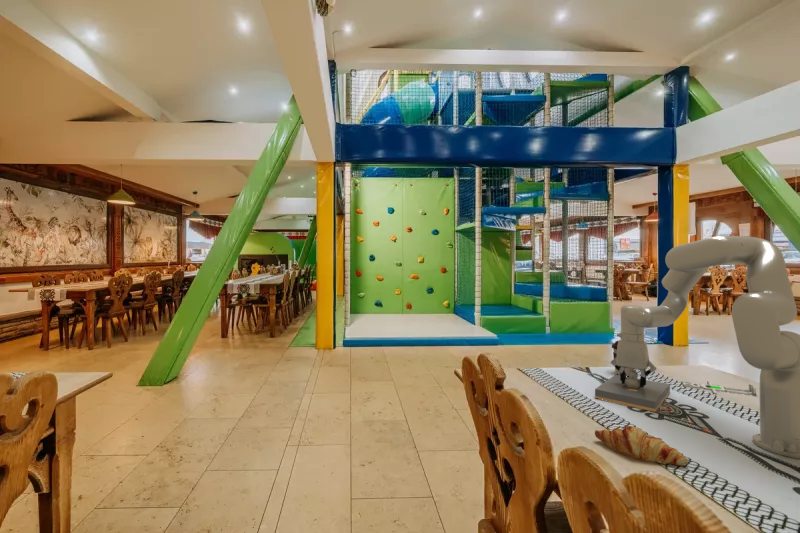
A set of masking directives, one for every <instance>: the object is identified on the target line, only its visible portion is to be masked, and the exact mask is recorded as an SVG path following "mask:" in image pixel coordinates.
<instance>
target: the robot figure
mask: <svg viewBox="0 0 800 533" xmlns="http://www.w3.org/2000/svg"><path fill="white" fill-rule="evenodd" d="M681 384H682V387H683V388H691V389H698V390H701V389H703V390H706V391H711V393H712V395H714V394H715V396H716V395H718V392H720V391H721V393H727V392H729V393H728V394H735V393H737V394H736V395H742V394H744V395H743V396H750V395H752V396H751V397H757V388H756V387H754V385H753V384H748V389H743V388H735V387H728V386H721V385H713V384H712V382H711V381H707V382H706V384H704V383H701V384H699V383H697V382H696V383H695V382H691V381H690V382H689V381H681ZM726 389H727V390H726ZM742 391H743V392H742ZM749 392H751V393H749Z"/></svg>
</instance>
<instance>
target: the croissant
mask: <svg viewBox="0 0 800 533" xmlns="http://www.w3.org/2000/svg"><path fill="white" fill-rule="evenodd" d="M594 436H595V438H597V440H599V441H601V442H602V443H604V445H606V447H608V448H609V449H610V450H612V451H616V452H617V453H619V454H621V455H624V456H626V457H630V458H632V459H636V460H640V461H644V462H652V463H655V462H656V463H658V464H671V465H673V466H685V465H688V463H689V459H688V458H687V457H686V456H684V455H683V454H682V453H681V452H680V451H678V449H677V448H674V447H671V446H670V445H669V444H667V443H666V442H665V441H664V440H662V438H660V437H653V436H651V435H648V433H647V432H646V431H644V430H643V429H640V428H638V427H635V426H629V425H626V426H624V427H623V428H619V427H617V428H614V429H613V430H609V429H602V430H596V429H595V430H594Z"/></svg>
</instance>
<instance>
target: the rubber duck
mask: <svg viewBox="0 0 800 533" xmlns="http://www.w3.org/2000/svg"><path fill="white" fill-rule="evenodd" d="M628 376H629V378H625V384H626V385H627V386H628V387H629V388H632V389H637V388H639V387H640V380H639V379H640V378H638V376H639V374H638V372H637V369H633V368H632V371H631V369H630V371H629V372H628ZM637 378H638V379H637Z"/></svg>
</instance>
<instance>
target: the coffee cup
mask: <svg viewBox="0 0 800 533" xmlns="http://www.w3.org/2000/svg"><path fill="white" fill-rule="evenodd" d="M618 341H619V340H615V342H614V343H612V344H611V348H612V349H613V350H612V351H613V352H612V353H613V356H612V357H613V359H614V358H616V357H617V346H618ZM616 363H617V362H616ZM620 367H621V366H620ZM614 369H615V370H614V372H615V375H617V374H618V375H620V373H619V371H618V370H617V369H616V368H615V367H614ZM630 369H631V371H632V368H627V367H626V368H625V373H626V376H628V372H629V371H630Z"/></svg>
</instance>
